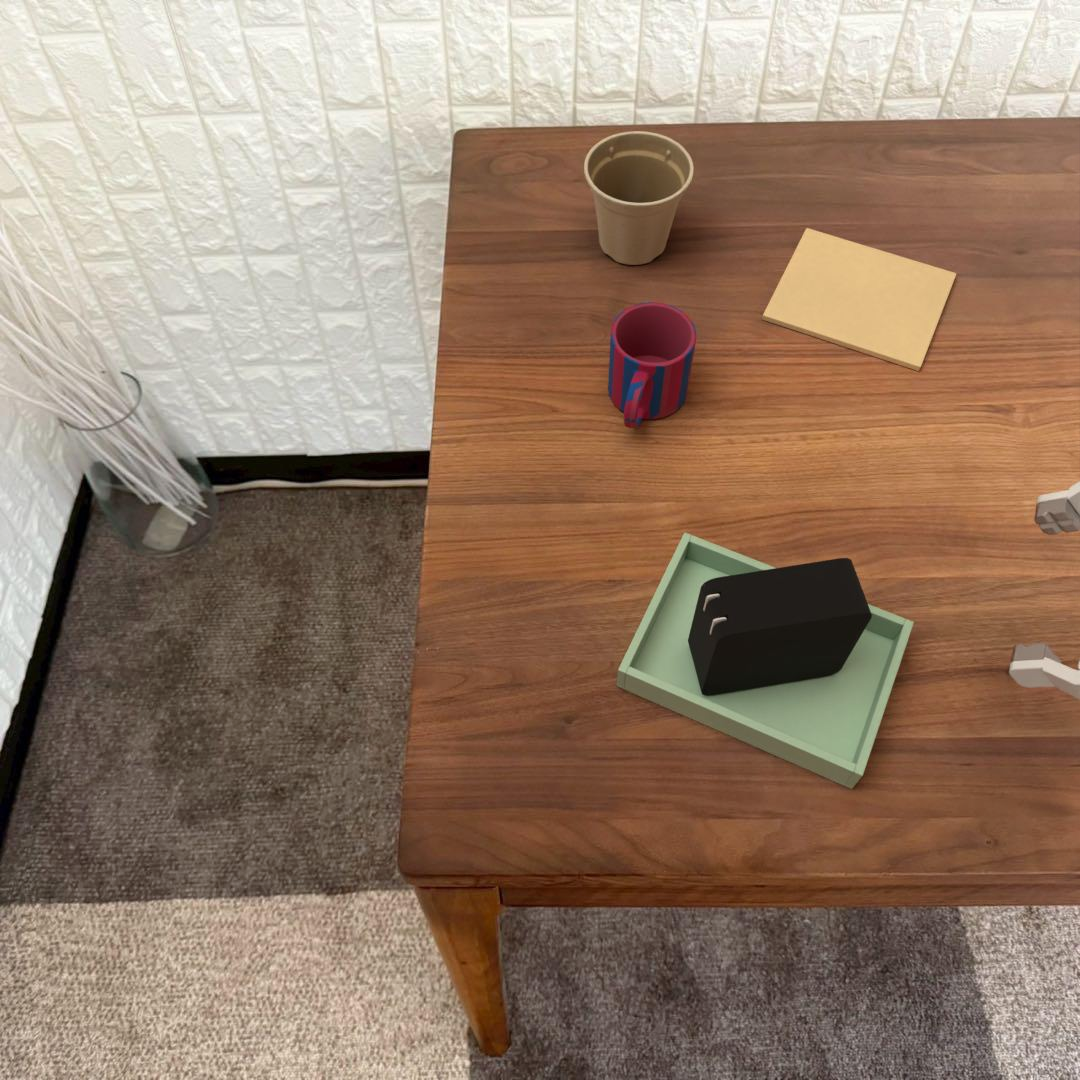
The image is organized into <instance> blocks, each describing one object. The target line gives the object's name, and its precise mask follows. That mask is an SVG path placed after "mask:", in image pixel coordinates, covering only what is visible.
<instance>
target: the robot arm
mask: <svg viewBox="0 0 1080 1080" xmlns="http://www.w3.org/2000/svg"><path fill="white" fill-rule="evenodd" d="M1033 521H1034V523H1035V524H1036V525H1038V527H1039V529H1040V531H1041V532H1042V533H1043V534H1046V535H1051V536H1054V535H1060V534H1061V533H1062V532H1063V533H1066V534H1068V533H1075V532H1080V480H1079V481H1077V482H1076V483H1074V484H1073V485H1071V486H1070V487H1068V489H1067V490H1060V491H1055V492H1049V493H1044V494H1040V495H1039V496H1038V497H1037V499H1036V505H1035V511H1034V519H1033ZM1053 652H1054V651H1053V650H1052V648H1051V647H1050V646H1049V644H1048V643H1047V642H1037V643H1036V642H1033V643H1030V644H1029V645H1025V644H1024V643H1019V644H1015V645H1013V648H1012V651H1011V658H1010V664H1009V670H1008V675H1009V676H1010V677H1011V678H1012V679H1013V680H1014V681H1015V682H1016V684H1017V685H1019V686H1021V687H1024V688H1027V689H1029V688H1032V689H1033V688H1057V690H1059V691H1061V692H1063V693H1066V694H1067V695H1069V696H1071V697H1073V698H1075V699H1077V700H1079V701H1080V660H1078V664H1077V669H1075V668H1073V667H1071V666H1068V665H1066V664H1063V663H1062V660H1061V658H1060V657H1058V655H1057V654H1056V653H1053Z"/></svg>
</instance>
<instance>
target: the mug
mask: <svg viewBox="0 0 1080 1080" xmlns="http://www.w3.org/2000/svg"><path fill="white" fill-rule="evenodd" d="M696 341H697V330H696V327H695V325H694V322H693V321H692V319H691V318H690V317H689V315H687V313H685V312H684V311H682V310H681V309H679V308H678V307H675V306H673V305H671V304H667V303H664V302H657V301H656V302H652V301H650V302H641V303H636V304H634V305H632V306H631V305H630V306H629V307H628V308H626V309H624V310H623V311H621V312H620V313H619V314H618V315H617V316H616V317H615V319H614V321H613V323H612V324H611V329H610V341H609V343H610V344H609V361H608V364H609V365H608V377H607V378H608V380H607V392H608V396H609V398H610V400H611V402H612V403H613V404H614V406H615V407H616V408H617V409H618V410H620V411H621V412H623V424H624V427H626V428H628V429H637V428H638V427H640V424H641V422H642V420H658V419H663V418H666V417H668V416H671V415H672V414H674V413H675V412H677V411H678V410H679V409H680V408H681V407H682V406H683V405H684V403H685V401H686V399H687V397H688V391H689V385H690V379H691V374H692V368H693V367H692V366H693V362H694V361H693V360H694V354H695V348H696Z"/></svg>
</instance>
